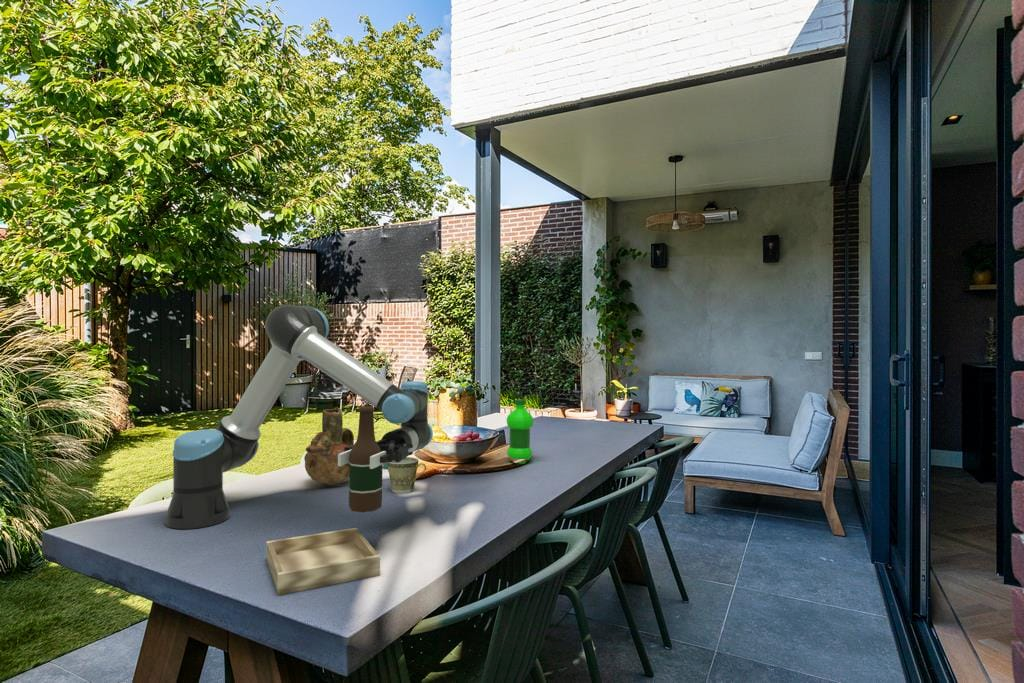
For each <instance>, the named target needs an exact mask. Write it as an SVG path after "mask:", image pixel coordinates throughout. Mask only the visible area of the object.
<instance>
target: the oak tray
mask: <svg viewBox="0 0 1024 683" xmlns="http://www.w3.org/2000/svg"><path fill="white" fill-rule="evenodd" d="M265 544H266V548H265V550H266V554H265V555H266V556H265V558H266V563H267V566H268V569H269V572H270V574H271V578H272V582H273V584H274V587H275V591H276V594H277V596H282V595H288V594H292V593H298V592H303V591H307V590H312V589H316V588H322V587H329V586H333V585H338V584H343V583H348V582H354V581H357V580H363V579H368V578H373V577H378V576H381V555H380V554H379V553H378V552H377V551H376V550H375V548H374V547H373V546H372V545H371V544H370V542H369V541H368V540H367V538H365V536H364V535H363V534H362V533H361V531H360V530H359V529H358V528H357V527H351V528H345V529H341V530H340V529H339V530H333V531H332V530H331V531H326V532H319V533H313V534H306V535H301V536H292V537H288V538H281V539H273V540H268V541H266V542H265Z"/></svg>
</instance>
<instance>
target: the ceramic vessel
mask: <svg viewBox="0 0 1024 683" xmlns="http://www.w3.org/2000/svg"><path fill="white" fill-rule="evenodd" d="M321 413H322V418H321V425H322V426H321V429H322V430H321V431H319V432H317V433H316V435H315V436H314V437H313V438H312V439H311V441H310V445H308V446H307V447H306V448H305V451H306V453H305V455H304V458H303V459H304V468H305V472H306V473H307V475H308V477H309V478H310V479H312V480H313V481H314V482H316V483H319V484H322V485H336V484H341V483H343V482H345V481H347V480H348V479H349V463H347V464H345V465H342V466H338V454H340V453H343V452H344V448H345V447H348V446H352V445H354V444H355V442H354V440H355V435H354V433H353V431H352V430H351V429H349V428H348V427H343V411H342V408H331V409H328V408H326V409H323V410H322V412H321Z"/></svg>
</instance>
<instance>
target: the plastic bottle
mask: <svg viewBox="0 0 1024 683" xmlns="http://www.w3.org/2000/svg"><path fill="white" fill-rule="evenodd" d="M526 403H527V402H526V399H519V398H518V399H514V406H515V408H514V409H513V410H512V411H511V412H510V413H509V414H508V415H507V418H506V425H507V427H508V428H509V447H508V449H507V450H506V453H507V454H506V455H507V457H508V456H509V457H511V458H514V459H527V460H528V461H530V460H531V458H532V456H533V455H532V454H533V451H532V448H531V447H530V446H531V445H530V444H531V441H530V440H531V434H530V433H531V428H532V427H533V424H534V417H533V416H532V415H531V413H529V411H528V410H526V409H525V405H526ZM524 464H527V462H521V463H519V464H518V465H524Z"/></svg>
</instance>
